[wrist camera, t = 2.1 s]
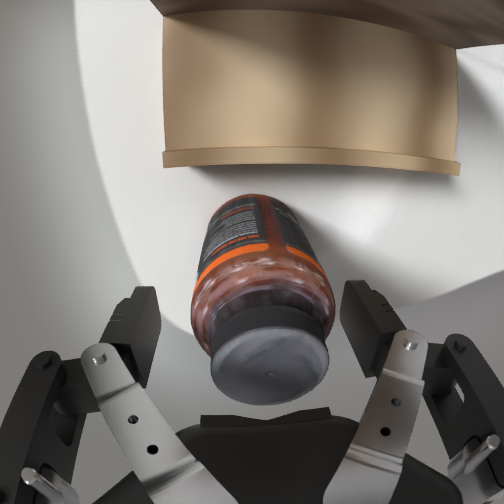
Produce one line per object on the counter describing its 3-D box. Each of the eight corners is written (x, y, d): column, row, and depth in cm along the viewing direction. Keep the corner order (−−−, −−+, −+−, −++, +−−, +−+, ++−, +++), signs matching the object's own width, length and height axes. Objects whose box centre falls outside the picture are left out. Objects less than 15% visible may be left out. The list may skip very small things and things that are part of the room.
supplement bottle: (189, 247, 19) (148, 384, 9) (241, 172, 18) (246, 260, 7) (262, 290, 21) (281, 433, 11) (317, 225, 19) (391, 347, 9)
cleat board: (433, 34, 13) (554, 15, 3) (431, 165, 17) (552, 223, 8) (173, 7, 13) (105, -89, 3) (176, 158, 17) (96, 223, 7)
